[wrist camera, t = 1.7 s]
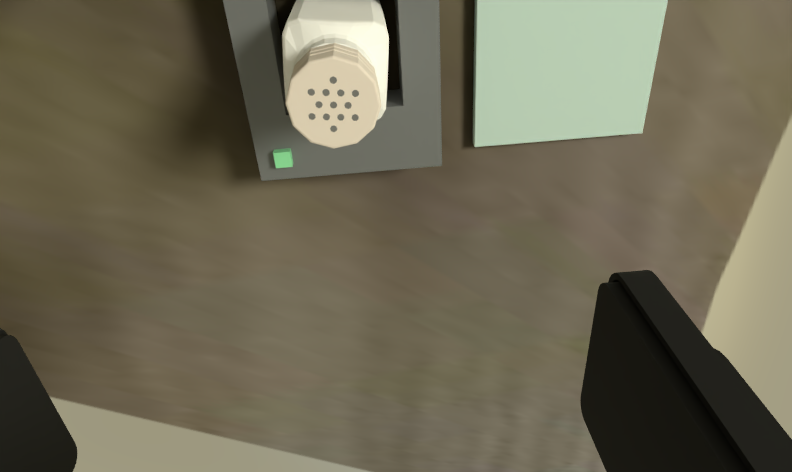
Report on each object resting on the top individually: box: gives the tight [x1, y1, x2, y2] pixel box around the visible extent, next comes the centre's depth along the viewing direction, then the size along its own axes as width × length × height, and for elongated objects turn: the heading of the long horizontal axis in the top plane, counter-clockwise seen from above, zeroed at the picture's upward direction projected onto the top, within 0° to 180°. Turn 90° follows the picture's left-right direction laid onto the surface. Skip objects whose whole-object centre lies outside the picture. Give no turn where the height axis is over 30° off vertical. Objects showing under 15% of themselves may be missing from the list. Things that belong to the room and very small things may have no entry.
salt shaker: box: [282, 0, 389, 148], centre depth 23 cm, size 4×4×10 cm
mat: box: [473, 0, 668, 147], centre depth 27 cm, size 12×9×1 cm
